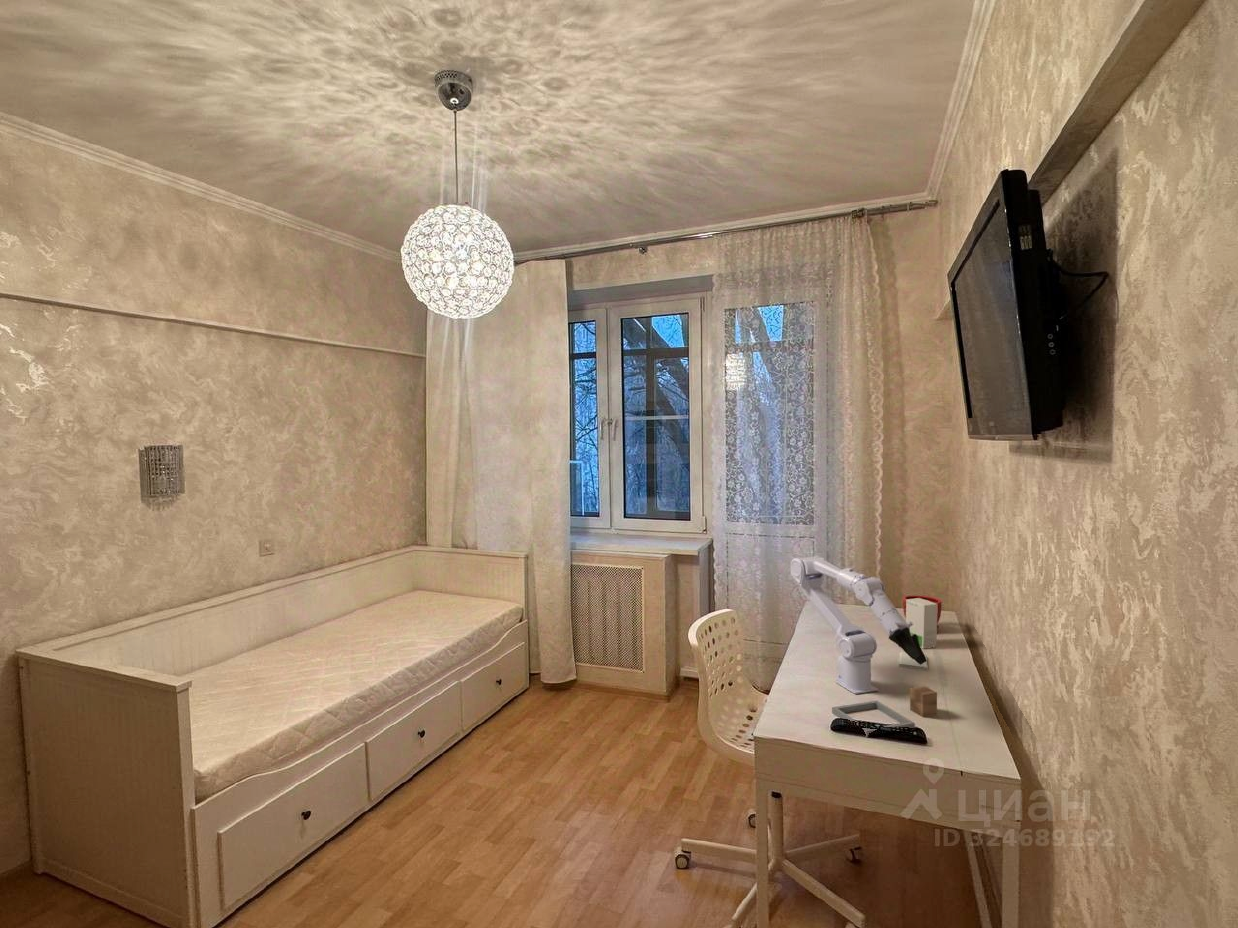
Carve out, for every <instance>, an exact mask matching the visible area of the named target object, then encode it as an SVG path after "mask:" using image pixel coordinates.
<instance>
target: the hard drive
mask: <svg viewBox="0 0 1238 928" xmlns="http://www.w3.org/2000/svg"><path fill="white" fill-rule="evenodd" d="M924 655H925V657H926V660H927V661H926V662H924V663H923V664H921V665H920V664H919V663H917V662H916V661H915V660H913V659H912V658H911V657H910V656H909V655H908V654H907V653H906V652H905V651H899V653H898V668H904V669H913V670H920V671H925V672H926V671H928V670H929V668H928V659H927V654H924Z"/></svg>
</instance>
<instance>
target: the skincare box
mask: <svg viewBox="0 0 1238 928" xmlns="http://www.w3.org/2000/svg"><path fill="white" fill-rule="evenodd" d="M937 608H938V604H936V603H933V602H930V601H928V600H924V599H921V598H915V599H907V600H906V618H905V622H906V623H907V622H909V621H911V622H912V624H913V625H912V626H910V634H911V636H912V635H914V634H916V635H917V636H918V639H919V644H920V647H921V649H922V648H923V649H922V650H925V649H924V648H927V649H930V648H929V647H933V646H936V647H937V635H938V632H937V631H938V630H937V625H938V623H937V612H938V611H937ZM933 648H934V647H933Z"/></svg>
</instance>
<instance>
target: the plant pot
mask: <svg viewBox="0 0 1238 928" xmlns="http://www.w3.org/2000/svg"><path fill="white" fill-rule="evenodd" d="M915 598H921V599H924V600H928V601H930V602H933V603H936V604H938V608H937V631H938V630H940V626H939V625H938V623H939V622H940V620H941V617H942V616H941V614H942V605H943V604H942V601H941V599H939V598H936V597H931V596H925V595H906V596H903V598H902V610H903V615H904V618H905V619H906V600H907V599H915Z"/></svg>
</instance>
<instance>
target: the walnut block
mask: <svg viewBox="0 0 1238 928" xmlns="http://www.w3.org/2000/svg"><path fill="white" fill-rule="evenodd" d="M909 705H910V706H909V710H910V711H911V712H913V713H915V714H917V715H918V716H920V717H921V718H927V717H933V716H938V692H937V691H935V690H932V689H931V688H929V687H927V686H926V685H922V686H915V687H910V688H909Z"/></svg>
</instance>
